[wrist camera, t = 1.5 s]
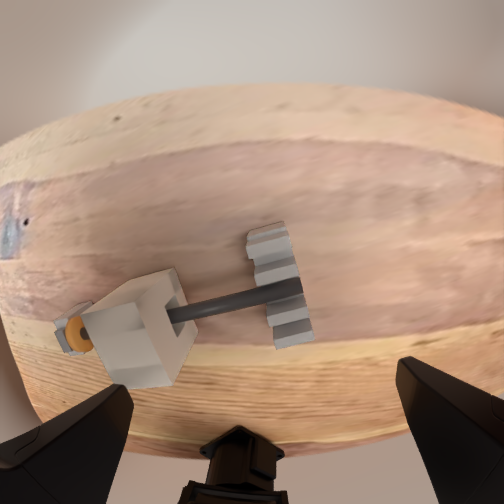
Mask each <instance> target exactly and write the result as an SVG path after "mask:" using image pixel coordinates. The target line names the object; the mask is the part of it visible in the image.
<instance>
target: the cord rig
mask: <svg viewBox="0 0 504 504" xmlns="http://www.w3.org/2000/svg"><path fill="white" fill-rule="evenodd" d="M247 240H248V242H247V244H246V247H245V248H246V251H247V254H248V258H249V259H252V258H253V261H254V264H255V270H254V278H255V281H256V284H257V286H261V287H259V288H255V289H251V290H247V291H243V292H239V293H235V294H231V295H227V296H223V297H219V298H215V299H210V300H206V301H202V302H198V303H194V304H189V305H185V306H181V307H176V308H172V309H168V310H166V312H167V314H168V317H169V319H170V322H171V324H176V323H181V322H186V321H190V320H195V319H199V318H204V317H209V316H213V315H217V314H222V313H226V312H230V311H235V310H239V309H243V308H247V307H251V306H255V305H259V304H263V303H266V304H267V310H266V317H267V321H268V324H269V327H272V326H273V340H274V344H275V347H276V350H277V349H281V348H285V347H289V346H293V345H297V344H301V343H305V342H309V341H313V340H315V337H314V333H313V329H312V325H311V322H310V318H309V317H310V316H309V312H308V307H307V304H306V301H305V298H304V294H303V288H302V284H301V281H300V277H299V271H298V268H297V264H296V261H295V258H294V255H293V251H292V245H291V241H290V237H289V234H288V232H287V229H286V226H285V224H284V221H283V222H279V223H275V224H272V225H268V226H265V227H261V228H257V229H254V230H250V231H249V233H248V235H247ZM92 305H93V304H92V301H89V302H85V303H81V304H78V305H76V306H75V307H73V308H72V309H70V310H69V311H67V312H66V313H64V314H63V315H61V316H60V317H58V318H57V319H55V320H54V324H55V326H56V328H57V331H55V332H54V333H55V335H56V337H57V339H58V341H59V344H60V346H61V348H62V350H63V352H64V353H65V352H68V353H69V355H70V356H73V355H82V354H85V353H86V352H88V351H90V350H92V349H93V347H94V345H93V343H92V341H91V339H90V337H89V335H88V333H87V330H86V328H85V326H84V324H83V322H82V319H81V317H80V314H81V313H83V312H84V311H85V310H87V309H88V308H90V307H91V306H92Z"/></svg>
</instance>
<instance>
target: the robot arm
mask: <svg viewBox="0 0 504 504" xmlns="http://www.w3.org/2000/svg"><path fill="white" fill-rule="evenodd" d="M396 386H397V390H398V393H399V396H400V399H401V403H402V406H403V409H404V413H405V416H406V419H407V423H408V425H409V428H410V430H411V432H412V435H413V437H414V439H415V442H416V444H417V447H418V449H419V452H420V454H421V456H422V459H423V462H424V464H425V467H426V469H427V472H428V475H429V477H430V480H431V483H432V485H433V488H434V491H435V494H436V497H437V499H438V502H439V504H504V400H503V399H500V398H498V397H496V396H494V395H491V394H489V393H487V392H485V391H483V390H481V389H479V388H476V387H474V386H472V385H470V384H468V383H466V382H464V381H462V380H459V379H457V378H455V377H453V376H451V375H449V374H447V373H445V372H443V371H441V370H439V369H436V368H434V367H432V366H430V365H428V364H426V363H424V362H422V361H420V360H418V359H416V358H414V357H412V356H408V357H404V358H401V359H399V361H398V364H397V372H396ZM133 409H134V403H133V400H132V398H131V396H130V394H129V392H128V390H127V388H126V386H125V385H123V384H112V385H111V386H109V387H107V388H106V389H104V390H102V391H100V392H99V393H97V394H95V395H94V396H92V397H90V398H88V399H87V400H85V401H83V402H81V403H80V404H78V405H76V406H74V407H72V408H71V409H69V410H67V411H65V412H64V413H62V414H60V415H58V416H56V417H54V418H53V419H51V420H49V421H47V422H45V423H43V424H42V425H41V426H38V427H36V428H34V429H32V430H30V431H29V432H26V433H24V434H22V435H20V436H17V437H15V438H13V439H11V440H8V441H6V442H3V443H1V444H0V504H106V502H107V498H108V495H109V492H110V489H111V485H112V482H113V479H114V476H115V473H116V470H117V467H118V464H119V461H120V458H121V455H122V452H123V449H124V446H125V443H126V439H127V435H128V431H129V426H130V422H131V418H132V413H133ZM200 454H202V455H203V456H205V457H207V458H209V459H210V464H209V469H208V473H207V478H206V483H205V484H203V483H198V482H195V481H191V480H189V483H188V485H187V486H185V487H184V488H183V490H182V494H181V497H180V500H179V502H178V503H177V504H289V503H288V495H287V491H274V479H276V461H278V460H280V459H282V458H283V457H284V456H285V453H284V452H283V451H282V450H280V449H278V448H276V447H275V446H273V445H271V444H269V443H268V442H266V441H264V440H263V439H261V438H259V437H258V436H256V435H254V434H253V433H251V432H250V431H248V430H246V429H245V428H243V427H236V428H234V429H233V430H231V431H229V432H228V433H226V434H224V435H223V436H221V437H219V438H218V439H216V440H214V441H212V442H211V443H209V444H207V445H205V446H203V447H202V448H200Z"/></svg>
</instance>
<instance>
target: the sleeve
mask: <svg viewBox="0 0 504 504" xmlns="http://www.w3.org/2000/svg"><path fill="white" fill-rule="evenodd" d="M185 305H188V304H187V301H186V298H185V295H184V293H183V290H182V287H181V284H180V282H179V279H178V276H177V273H176V270H175V267H174V268H170V269H166V270H163V271H159V272H156V273H152V274H149V275H145V276H142V277H138V278H134V279H131V280H128V281H127V282H125V283H124V284H122V285H121V286H119V287H118V288H116V289H115V290H114V291H112V292H111V293H109V294H108V295H106V296H105V297H104V298H102V299H101V300H99V301H98V302H97V303H95V304H94V305H92V306H91V307H90V308H88V309H87V310H85V311H84V312H83V313H81V314H80V317H81V319H82V322H83V324H84V326H85V328H86V330H87V333H88V335H89V337H90V339H91V341H92V343H93V345H94V347H95V349H96V351H97V353H98V355H99V357H100V359H101V361H102V363H103V365H104V367H105V369H106V370H107V372H108V374H109V376H110V378H111V380H112V381H113V383H114V384H123V385H125V386H126V388H127V389H142V388H154V387H165V386H173V384H174V382H175V380H176V378H177V376H178V374H179V372H180V370H181V368H182V365H183V363H184V361H185V359H186V357H187V355H188V353H189V351H190V349H191V347H192V345H193V343H194V341H195V338H196V336H197V334H198V330H197V327H196V324H195V322H194V320H190V321H186V322H181V323H176V324H171V322H170V319H169V317H168V314H167V312H166V310H168V309H172V308H176V307H181V306H185Z"/></svg>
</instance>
